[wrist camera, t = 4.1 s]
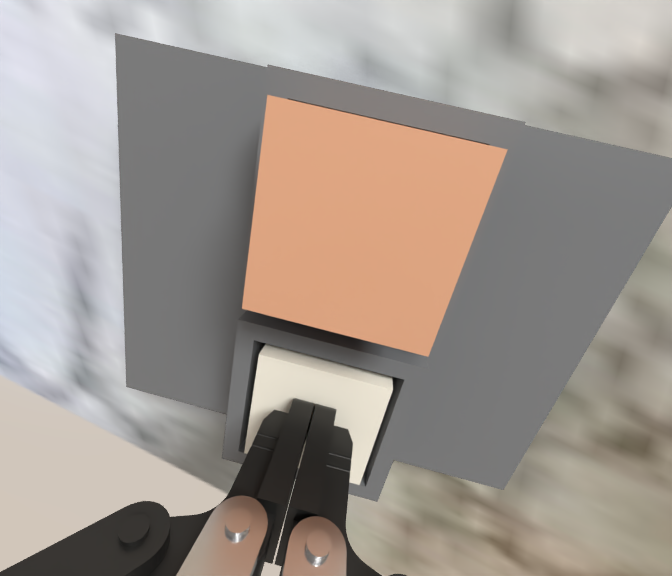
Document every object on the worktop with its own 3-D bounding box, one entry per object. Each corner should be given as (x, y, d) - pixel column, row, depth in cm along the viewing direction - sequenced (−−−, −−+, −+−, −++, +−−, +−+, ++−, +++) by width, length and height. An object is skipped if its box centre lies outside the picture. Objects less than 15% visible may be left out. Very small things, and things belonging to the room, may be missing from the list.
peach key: (470, 154, 8) (507, 149, 6) (416, 311, 10) (428, 356, 7) (299, 115, 8) (267, 94, 6) (274, 275, 10) (241, 308, 7)
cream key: (390, 348, 12) (392, 389, 10) (363, 432, 14) (359, 485, 12) (281, 320, 13) (258, 354, 10) (266, 406, 14) (243, 453, 12)
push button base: (624, 164, 12) (802, 161, 7) (483, 437, 17) (526, 551, 12) (172, 62, 13) (36, -7, 8) (165, 353, 18) (80, 426, 13)
